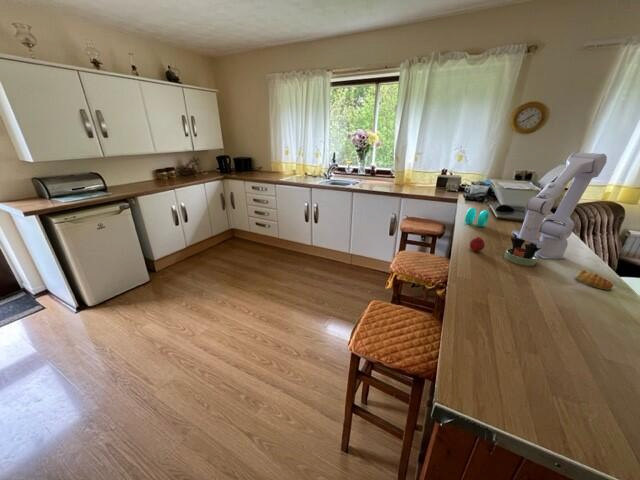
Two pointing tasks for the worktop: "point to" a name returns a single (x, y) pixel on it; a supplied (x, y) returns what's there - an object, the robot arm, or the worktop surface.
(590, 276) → the pastry
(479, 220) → the pair of cyan ovals
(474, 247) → the onion
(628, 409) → the worktop surface
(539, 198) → the robot arm
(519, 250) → the small bowl
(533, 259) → the big bowl
